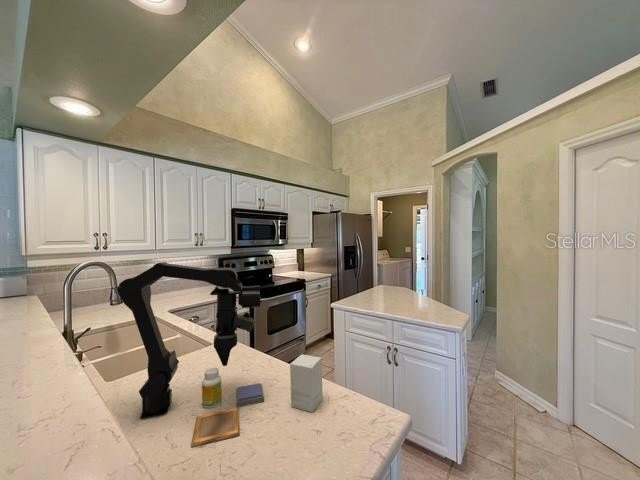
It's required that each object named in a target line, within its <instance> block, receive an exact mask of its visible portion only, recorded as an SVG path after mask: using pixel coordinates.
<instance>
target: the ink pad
mask: <svg viewBox="0 0 640 480" xmlns="http://www.w3.org/2000/svg"><path fill="white" fill-rule="evenodd" d="M235 398H236V399H235V400H236V402H235V403H236V408H241V407H246V406H251V405H256V404H259V403H264V402H265V394H264V390H263V385H262V383H260V382H258V383H253V384H247V385H242V386H238V387H237V388H235Z"/></svg>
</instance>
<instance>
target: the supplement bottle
mask: <svg viewBox="0 0 640 480" xmlns="http://www.w3.org/2000/svg"><path fill="white" fill-rule="evenodd" d="M203 373H204V374H203V377H204V378H203V379H202V380H201V405H202V407H203V408H205V409H211V408H215V407H217V406H218V405H220V404H221V402H222V376H221V375H220V370H219V368H218V367H209V368H207V369H206V370H205V371H204V372H203Z"/></svg>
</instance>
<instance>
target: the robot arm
mask: <svg viewBox="0 0 640 480" xmlns="http://www.w3.org/2000/svg"><path fill="white" fill-rule="evenodd" d="M163 277H164V278H174V279H180V280H182V279H183V280H189V281H198V282H200V281H201V282H205V283H208V284H211V285H213V286H215V287H214V289H213V290H211V291H210V293H209V294H210V296H216V315H215V319H216V322H215V323H216V324H215V334H214V337H213V348H214V350H215V351H216V354H217V355H218V358H219V360H220V362H221V365H222V366H223V367H227V366H228V364H229V359H230V354H231V351H232V349H233V348H235V347H236V346H237V345H238V334H237V333H236V331H238V329H240V330H244V331H246V332H249V333H250V332H252V330H253V327H254V325H255V323H256V322H255V320H254V318H253V317H251V314H250V312H247V311H244V313H242V314H238V310H237V305H238V306H240V307H241V308H242V309H245V308H246V309H249V308H252V309H253V308H260V307H261V299H262V298H261V286H260V285H253V286H252V285H250V286H247V285H246V286H243V283H242V282H241V281H240V280H239V278H238V272H237V271H236V270H235V268H232V267H214V268H213V267H212V268H205V267H198V266H190V265H183V264H174V263H169V262H166V261H165V262H164V261H163V262H157V263H155V264H153V266H151V267H150V268H148V269H146V270H145V271H143V272H141V273H140V274H137V275H136V276H133V277H130V278H126V279H124V280H122V281H120V283H119V284H118V286H117V288H116V292H117V294H118V296H119V297H120V299H121V301H122V303H123V304H124V305H125V306H126V307H127V308H128V309H129V310H130V311H131V313H132V315H133V318H134V321H135V324H136V327H137V330H138V332H139V335H140V338H141V341H142V344H143V347H144V350H145V352H146V355H147V369H146V371H147V377H148V379H147V380H146V381H145V382H144V384H143V385H142V387H140V389H139V390H138V394H139V395H140V397H141V403H142V404H141V406H142V407H141V409H142V411H141V412H142V413H141V414H140V416H139V418H140V420H143V419H147V418H153V417H158V416H162V415H167V413H168V411H169V409H170V407H171V406H172V403H173V393H172V392H173V390H172V388H170V387H171V386H170V385H171V384H170V383H171V381H172V379H173V378H174V376H175V374H176V372H177V371H178V367H179V363H180V361H179V359H178V358H177V354H176V351H175V350H172V351H169V350H168V349H167V347H166V345H165V343H164V339H163V337H162V334H161V330H160V328H159V325H158V321H157V319H156V317H155V314H154V312H153V311H154V310H153V307H152V306H151V301H152V300H151V298H152V290H151V289H152V288H151V286H152V285H153V284H155V283H156V282H158V281H160V279H162V278H163ZM237 295H238V299H237ZM237 303H238V304H237Z"/></svg>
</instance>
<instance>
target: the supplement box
mask: <svg viewBox="0 0 640 480" xmlns="http://www.w3.org/2000/svg"><path fill="white" fill-rule="evenodd" d="M322 360H323V359H322V357H320V356H313V355H307V354H300V355H299V356H298V357H297V358H295V359H294V360H293V361H292V362H291V363H289V369H290V370H289V371H290V373H289V374H290V402H291V403H290V405H291V406H290V407H291V408H295V409H299V410H303V411H306V412H311V413H313V412H315V411H316V409H317V407H318V406H319V404H321V402H322V400H323V398H324V396H323V393H324V392H323V365H322V363H323V361H322Z"/></svg>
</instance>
